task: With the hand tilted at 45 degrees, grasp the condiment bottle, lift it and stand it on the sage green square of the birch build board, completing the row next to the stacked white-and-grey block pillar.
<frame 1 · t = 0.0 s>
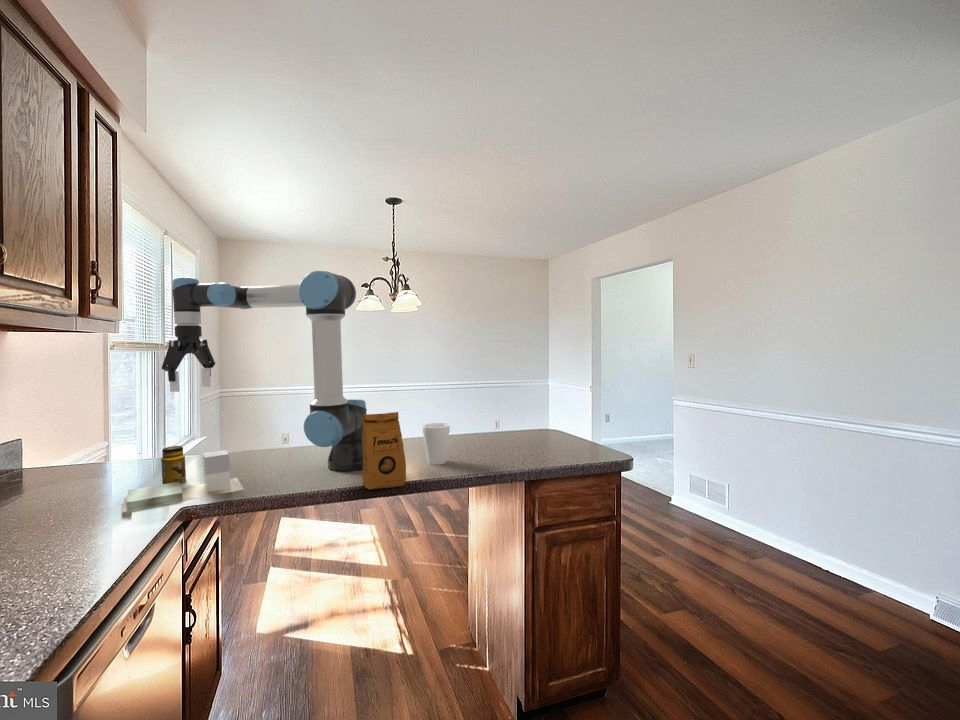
hand: (191, 389, 156), 28 cm above the counter, tool pointing down, fingers open, 13 cm apart
condiment: (171, 487, 142), on the counter
foam cup: (436, 462, 165), on the counter
build board: (185, 497, 133), on the counter
coffee package: (384, 486, 140), on the counter
block pillar: (217, 487, 137), resting on build board
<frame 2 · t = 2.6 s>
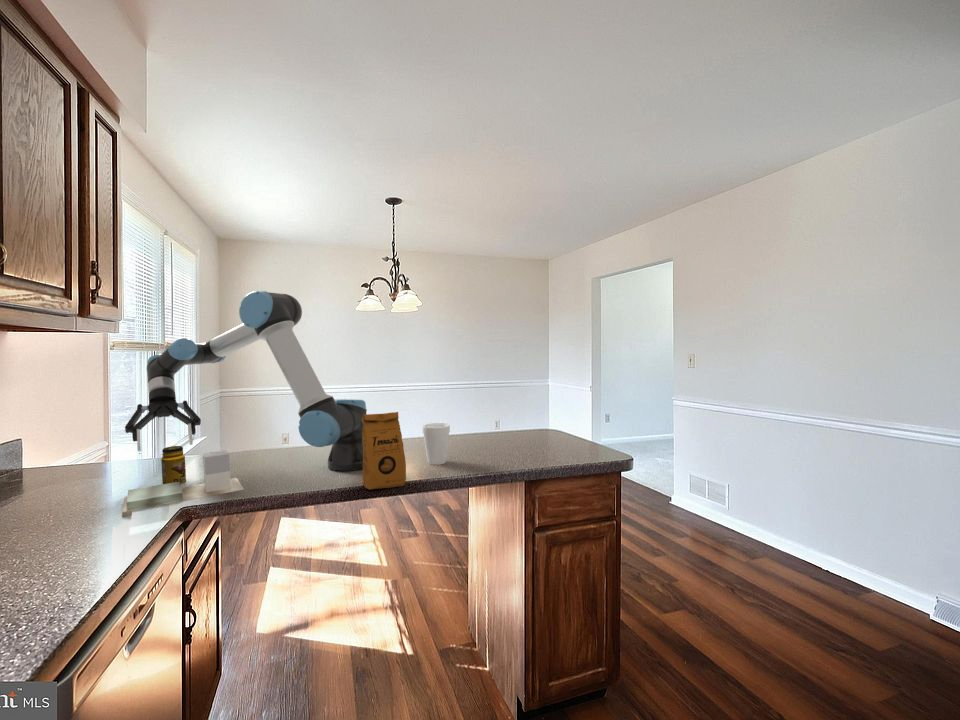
hand: (165, 445, 147), 11 cm above the counter, tool tilted 45°, fingers open, 13 cm apart
nothing on the counter moved.
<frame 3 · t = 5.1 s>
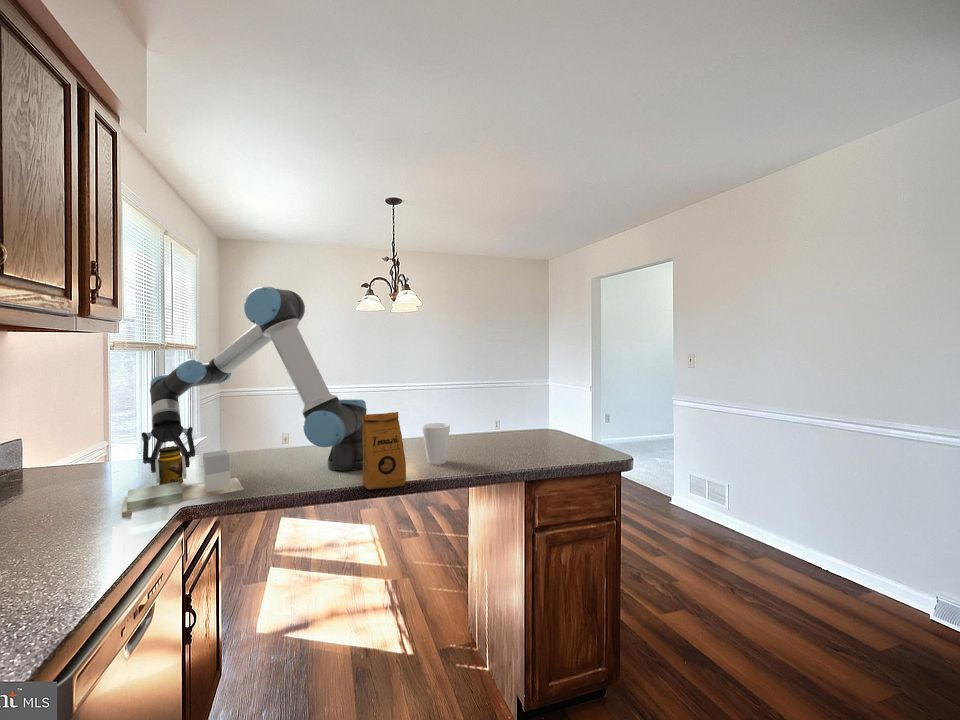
hand: (171, 478, 139), 3 cm above the counter, tool tilted 45°, fingers closed on condiment, 6 cm apart
condiment: (168, 488, 142), on the counter, touching gripper
everything else where it was.
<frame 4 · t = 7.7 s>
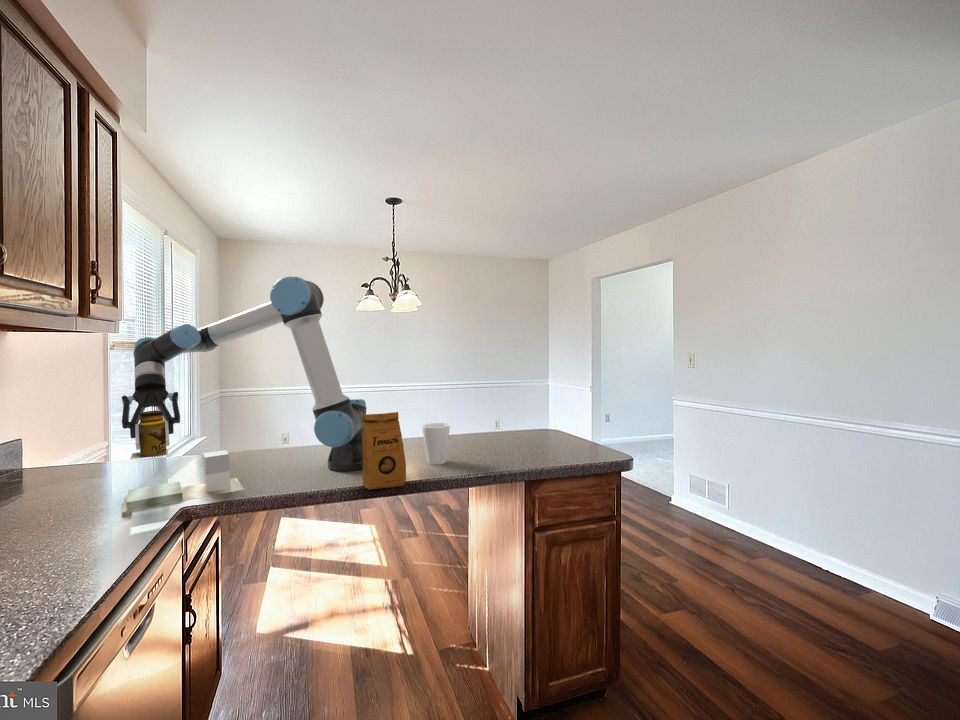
hand: (152, 444, 128), 16 cm above the counter, tool tilted 45°, fingers closed on condiment, 6 cm apart
condiment: (150, 455, 130), point 13 cm above the counter, touching gripper
everything else where it was.
when the fingers open (8 cm above the counter, at t = 10.3 s): condiment drops 1 cm, resting on build board.
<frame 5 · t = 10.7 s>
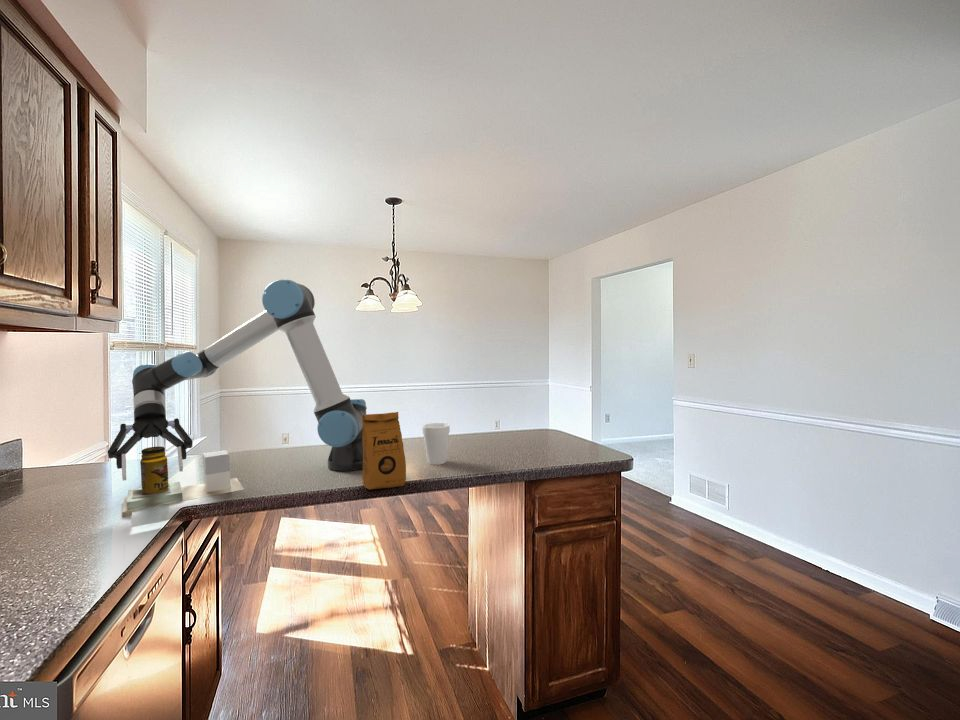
hand: (153, 473, 126), 9 cm above the counter, tool tilted 45°, fingers open, 12 cm apart
condiment: (151, 492, 128), point 3 cm above the counter, touching build board
everything else where it was.
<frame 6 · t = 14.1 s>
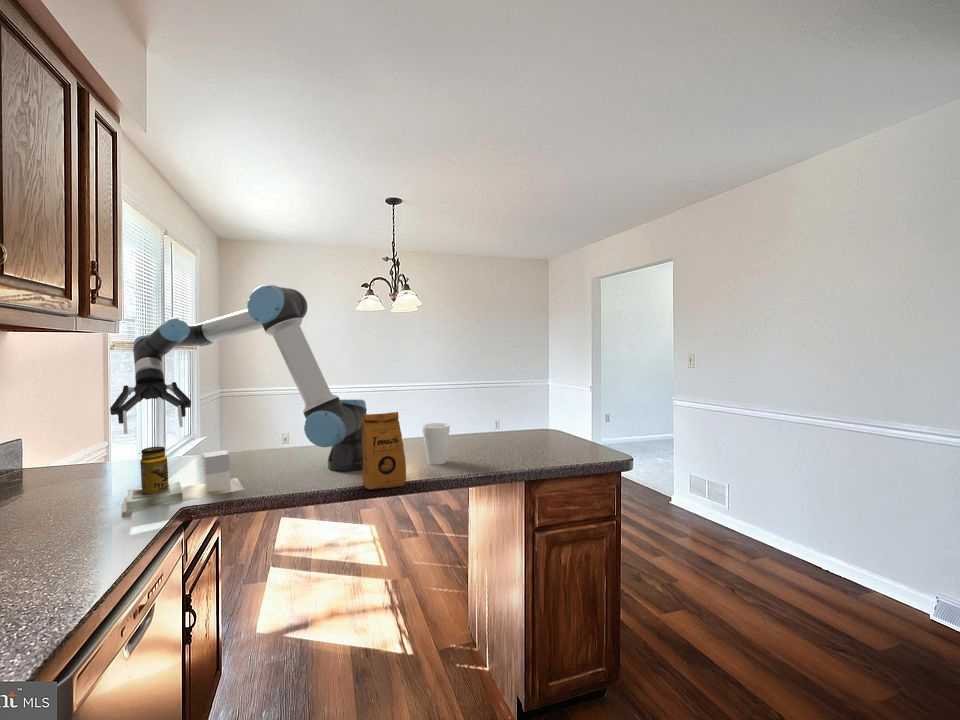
hand: (154, 427, 140), 18 cm above the counter, tool tilted 45°, fingers open, 13 cm apart
nothing on the counter moved.
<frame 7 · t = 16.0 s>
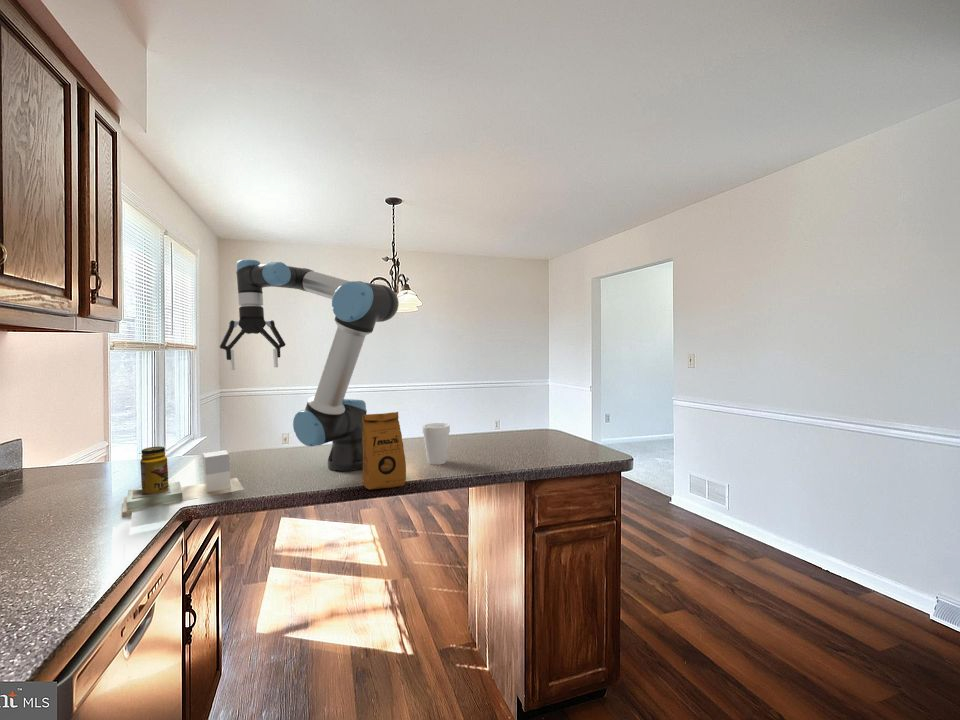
hand: (254, 368, 160), 34 cm above the counter, tool pointing down, fingers open, 13 cm apart
nothing on the counter moved.
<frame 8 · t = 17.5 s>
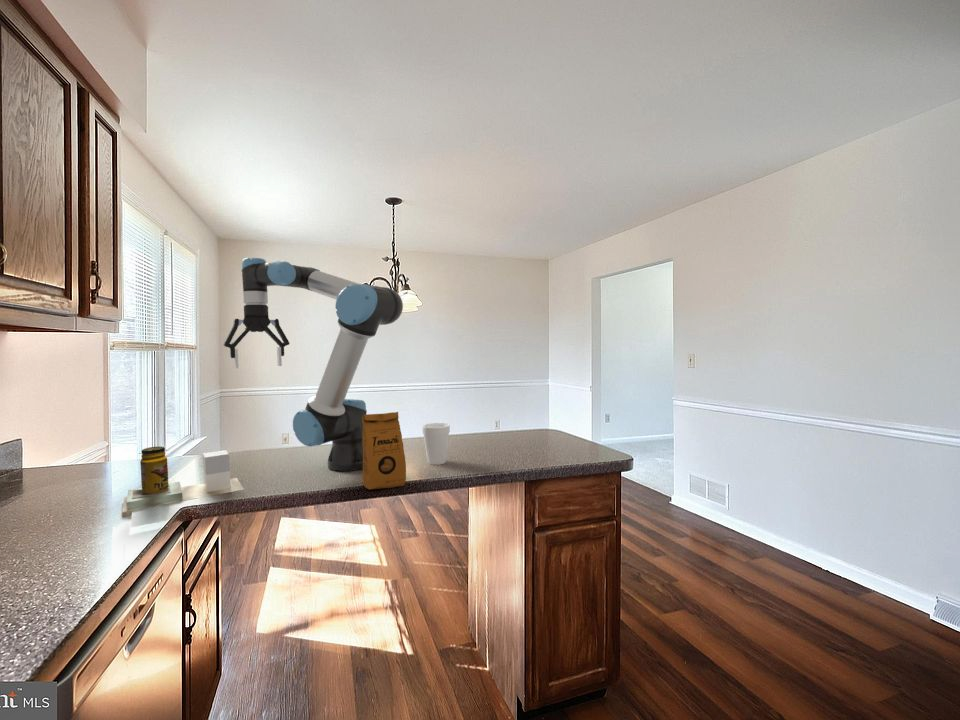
hand: (258, 366, 161), 35 cm above the counter, tool pointing down, fingers open, 13 cm apart
nothing on the counter moved.
at the end: condiment inside the target area (0.6 cm from its centre), point 3.0 cm above the counter; condiment tilted 0°; the gripper is holding nothing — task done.
